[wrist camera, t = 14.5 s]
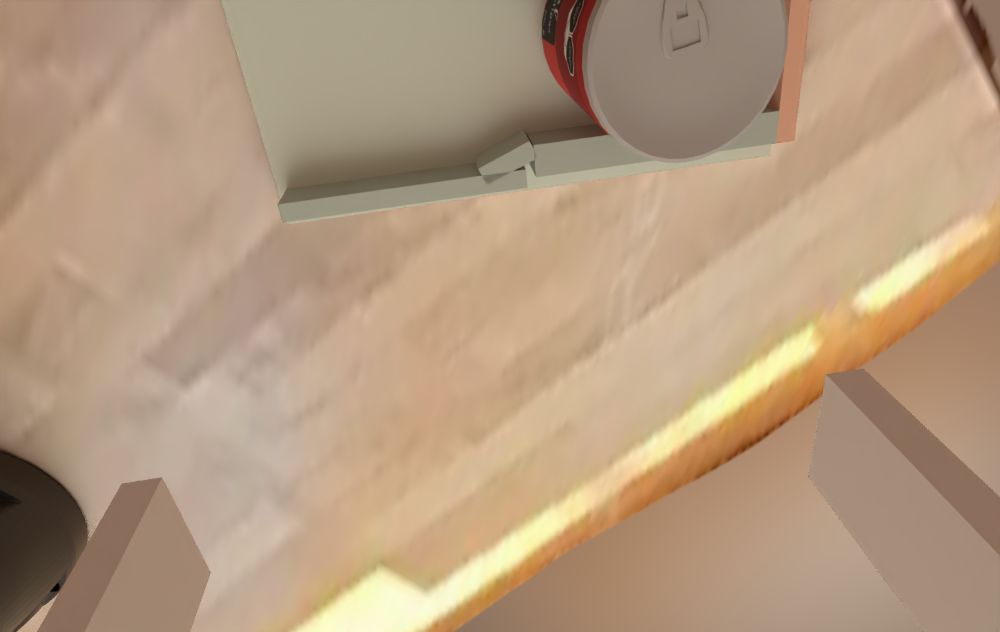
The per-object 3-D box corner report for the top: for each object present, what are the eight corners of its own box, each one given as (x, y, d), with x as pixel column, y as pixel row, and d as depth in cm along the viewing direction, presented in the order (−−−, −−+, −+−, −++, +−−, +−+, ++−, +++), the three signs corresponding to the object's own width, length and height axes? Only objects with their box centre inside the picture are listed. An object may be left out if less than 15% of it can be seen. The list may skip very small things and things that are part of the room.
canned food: (643, -98, 30) (744, -122, 21) (709, 53, 34) (820, 91, 24) (508, 0, 32) (544, 20, 22) (585, 135, 35) (644, 201, 26)
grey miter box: (291, 216, 37) (278, 241, 34) (195, -112, 29) (167, -120, 26) (760, 150, 38) (790, 168, 35) (791, -186, 30) (834, -202, 27)
